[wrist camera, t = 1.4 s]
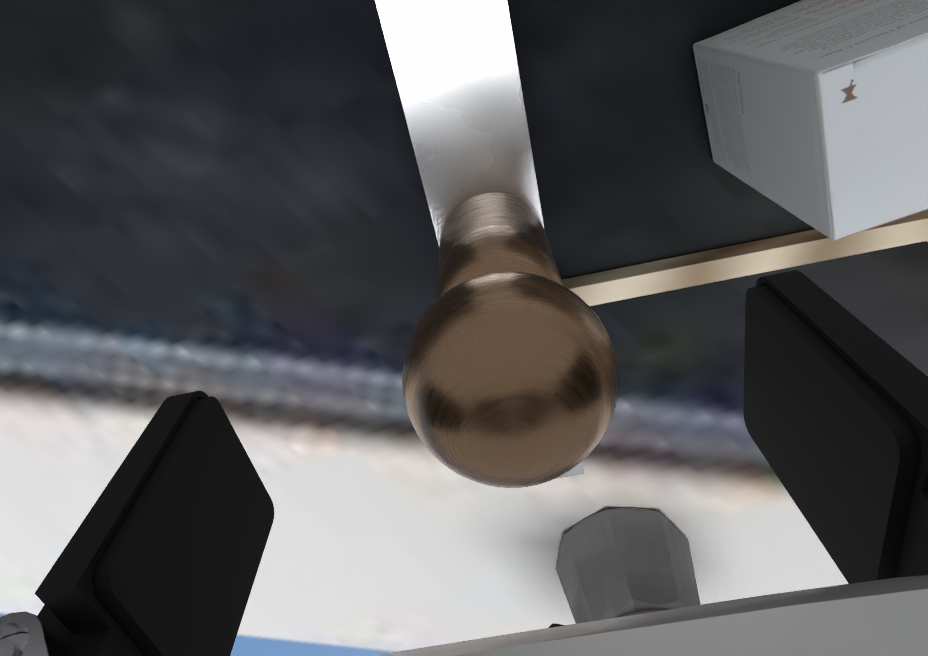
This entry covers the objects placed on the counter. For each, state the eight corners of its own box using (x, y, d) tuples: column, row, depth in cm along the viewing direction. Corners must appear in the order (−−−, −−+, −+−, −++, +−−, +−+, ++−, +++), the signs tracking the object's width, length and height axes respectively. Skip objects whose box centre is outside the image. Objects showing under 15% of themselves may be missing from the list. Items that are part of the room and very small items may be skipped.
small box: (709, 162, 29) (827, 248, 19) (688, 41, 26) (811, 74, 17) (888, 98, 27) (1104, 158, 18) (884, -37, 24) (1136, -48, 15)
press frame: (1086, -275, 21) (1528, -455, 12) (977, 222, 30) (1187, 320, 21) (382, -84, 24) (336, -122, 15) (478, 319, 33) (485, 441, 24)
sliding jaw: (483, -117, 22) (563, -458, 5) (555, 320, 31) (671, 733, 14) (377, -88, 22) (107, -308, 5) (479, 334, 31) (502, 753, 14)
